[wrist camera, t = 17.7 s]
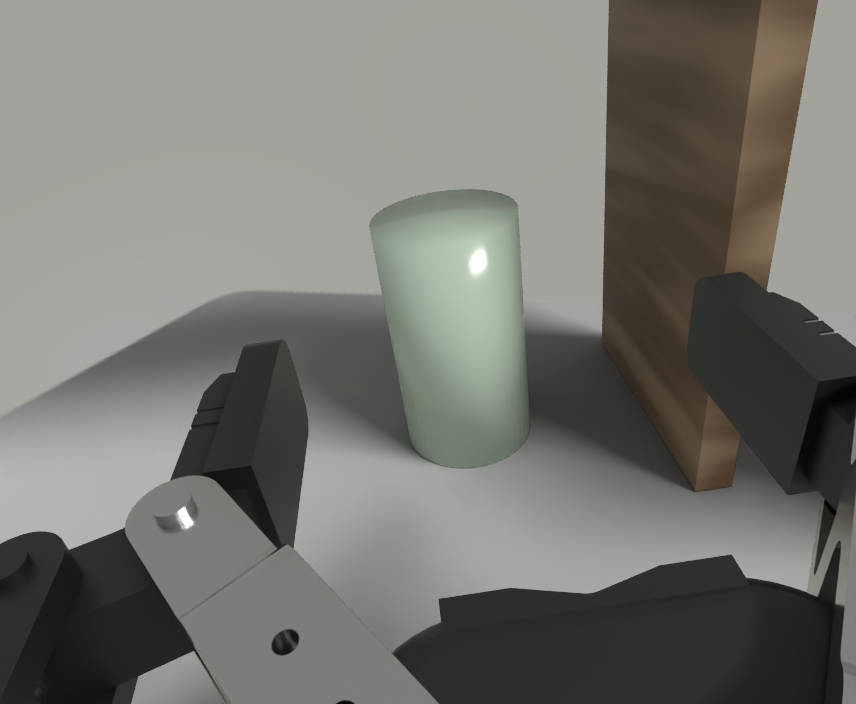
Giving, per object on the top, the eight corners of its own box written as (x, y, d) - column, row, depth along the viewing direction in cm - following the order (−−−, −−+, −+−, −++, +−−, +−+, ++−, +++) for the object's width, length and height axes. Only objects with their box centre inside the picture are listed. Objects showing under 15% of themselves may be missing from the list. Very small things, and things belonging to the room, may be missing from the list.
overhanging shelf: (247, 559, 25) (-93, -222, 12) (284, 391, 35) (118, -132, 23) (731, 486, 25) (885, -379, 12) (627, 338, 35) (653, -218, 23)
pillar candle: (412, 476, 28) (368, 254, 22) (407, 399, 33) (370, 202, 27) (542, 457, 28) (532, 229, 22) (517, 382, 33) (503, 181, 27)
